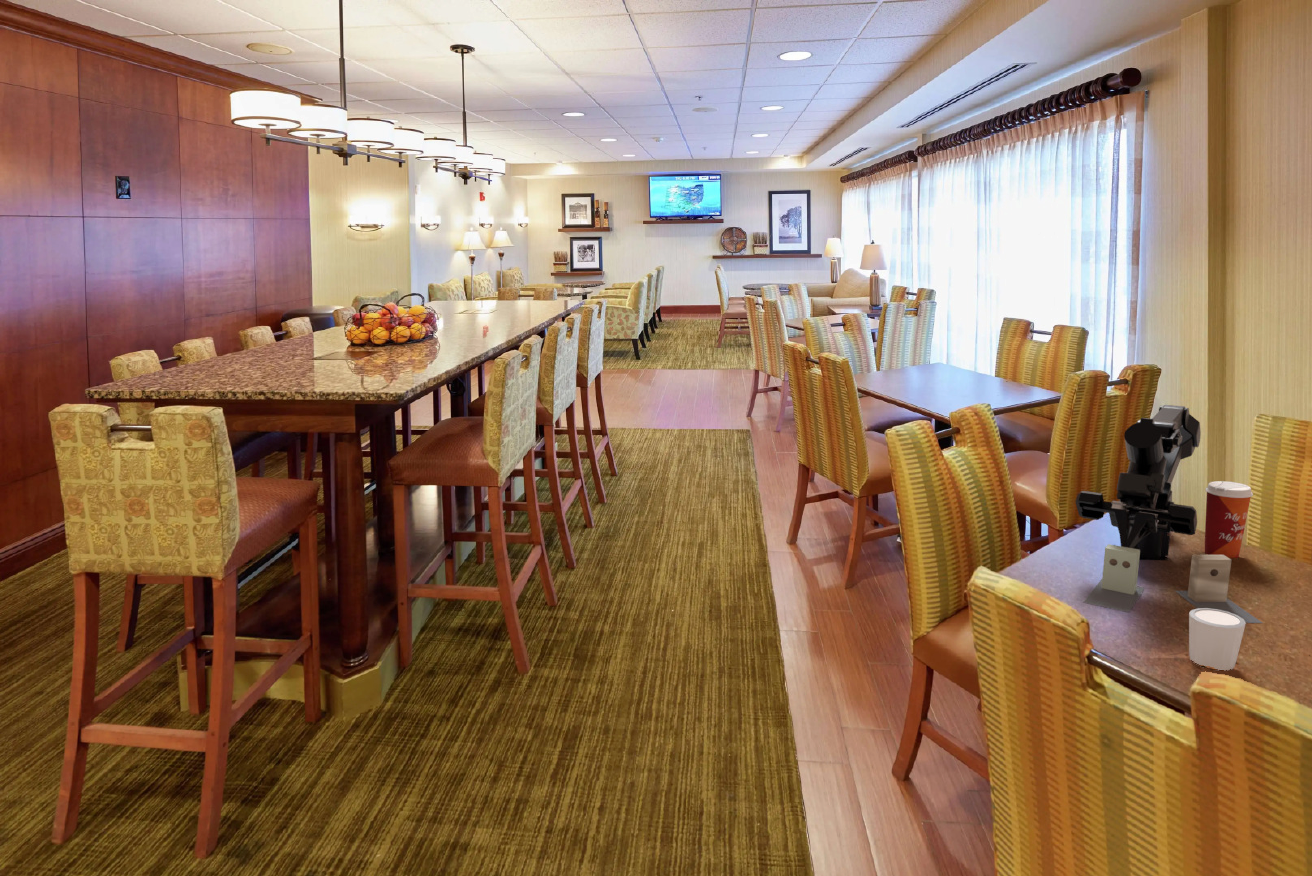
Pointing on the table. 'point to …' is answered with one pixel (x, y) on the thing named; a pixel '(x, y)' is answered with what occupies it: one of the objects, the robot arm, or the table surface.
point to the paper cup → (1226, 517)
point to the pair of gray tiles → (1128, 600)
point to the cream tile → (1209, 578)
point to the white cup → (1215, 637)
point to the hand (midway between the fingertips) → (1124, 552)
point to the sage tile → (1120, 569)
